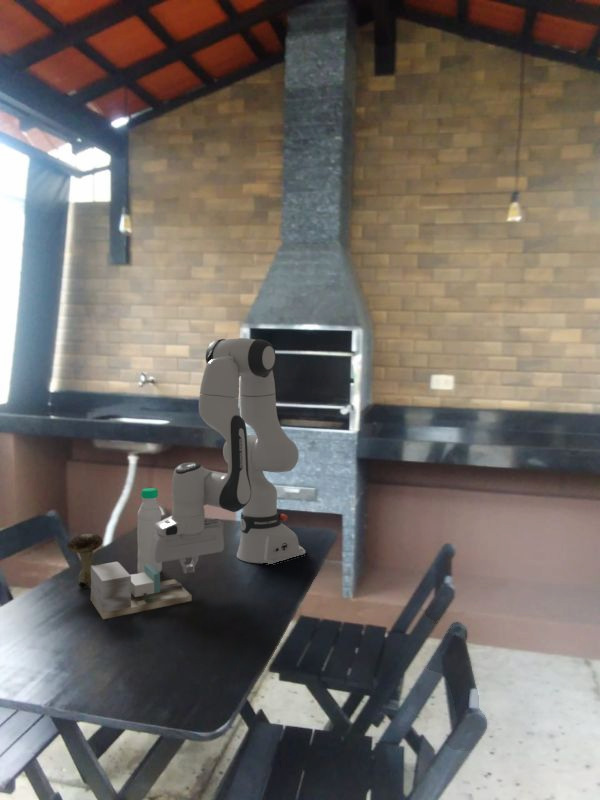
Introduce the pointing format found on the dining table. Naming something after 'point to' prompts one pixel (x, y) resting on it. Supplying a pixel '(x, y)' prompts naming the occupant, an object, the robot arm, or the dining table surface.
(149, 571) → the block with teal panel
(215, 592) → the dining table surface
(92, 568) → the frame
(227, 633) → the dining table surface
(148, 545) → the water bottle
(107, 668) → the dining table surface
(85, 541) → the mushroom
